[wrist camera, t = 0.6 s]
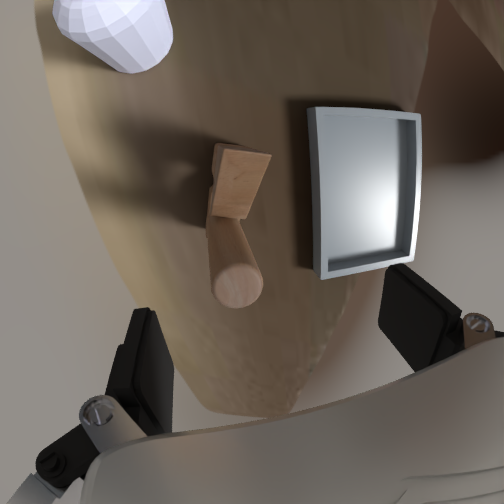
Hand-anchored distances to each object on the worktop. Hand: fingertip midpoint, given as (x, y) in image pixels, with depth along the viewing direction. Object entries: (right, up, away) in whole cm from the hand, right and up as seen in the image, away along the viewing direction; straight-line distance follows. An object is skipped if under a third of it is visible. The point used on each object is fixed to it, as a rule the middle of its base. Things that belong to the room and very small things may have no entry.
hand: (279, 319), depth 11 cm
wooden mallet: (-4, +10, +24) cm, 26 cm away
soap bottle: (-14, +27, +15) cm, 34 cm away
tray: (+14, +11, +27) cm, 32 cm away
